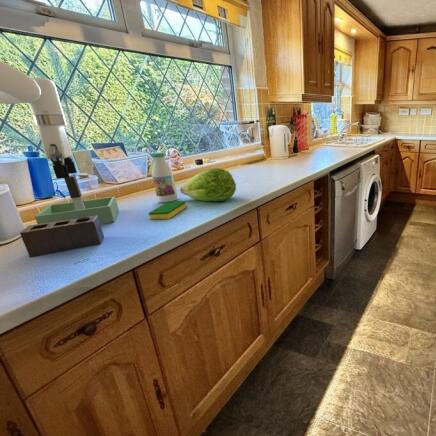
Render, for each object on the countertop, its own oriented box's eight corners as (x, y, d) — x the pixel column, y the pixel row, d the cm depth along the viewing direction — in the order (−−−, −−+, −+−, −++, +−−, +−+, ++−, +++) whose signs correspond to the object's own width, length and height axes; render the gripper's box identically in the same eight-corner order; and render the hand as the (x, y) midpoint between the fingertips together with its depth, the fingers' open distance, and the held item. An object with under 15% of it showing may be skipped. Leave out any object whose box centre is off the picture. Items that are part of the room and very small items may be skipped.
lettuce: (200, 195, 138) (187, 167, 131) (244, 191, 129) (232, 161, 123) (178, 211, 126) (162, 181, 119) (225, 208, 117) (210, 176, 111)
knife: (78, 220, 104) (63, 178, 99) (79, 218, 106) (65, 176, 101) (87, 219, 105) (73, 177, 100) (88, 217, 107) (75, 175, 102)
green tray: (41, 233, 96) (34, 216, 94) (54, 220, 108) (49, 205, 106) (114, 221, 104) (109, 206, 102) (119, 210, 116) (115, 196, 114)
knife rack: (29, 257, 80) (19, 232, 77) (37, 248, 85) (28, 225, 82) (100, 244, 86) (93, 221, 84) (104, 236, 91) (97, 215, 89)
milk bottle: (162, 198, 132) (151, 151, 125) (180, 197, 132) (171, 151, 126) (154, 203, 124) (143, 154, 118) (174, 202, 125) (163, 153, 118)
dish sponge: (187, 206, 118) (185, 200, 117) (169, 218, 105) (168, 212, 104) (169, 207, 118) (167, 201, 117) (149, 219, 105) (147, 212, 104)
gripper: (44, 121, 100) (60, 173, 106) (24, 122, 86) (44, 181, 91) (72, 121, 103) (86, 170, 109) (57, 121, 89) (75, 178, 94)
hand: (67, 175), depth 100 cm, fingers open, 9 cm apart
